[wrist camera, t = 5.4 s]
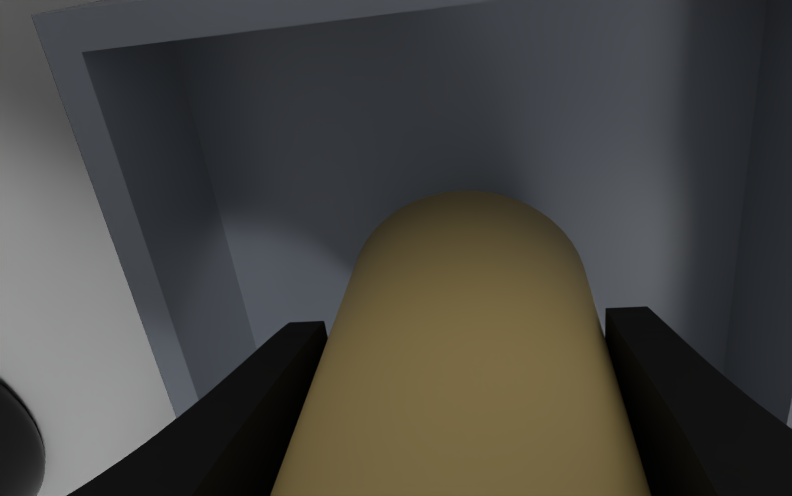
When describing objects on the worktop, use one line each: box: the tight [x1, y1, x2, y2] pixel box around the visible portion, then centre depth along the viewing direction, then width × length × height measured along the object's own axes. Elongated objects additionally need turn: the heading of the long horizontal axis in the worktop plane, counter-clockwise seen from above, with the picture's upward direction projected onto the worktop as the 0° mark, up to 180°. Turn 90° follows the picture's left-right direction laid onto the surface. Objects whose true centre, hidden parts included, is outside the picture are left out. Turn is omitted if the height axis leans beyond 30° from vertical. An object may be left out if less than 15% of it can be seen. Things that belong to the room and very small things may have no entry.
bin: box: [31, 0, 792, 429], centre depth 13 cm, size 12×12×4 cm
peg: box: [270, 191, 651, 496], centre depth 9 cm, size 4×4×7 cm
